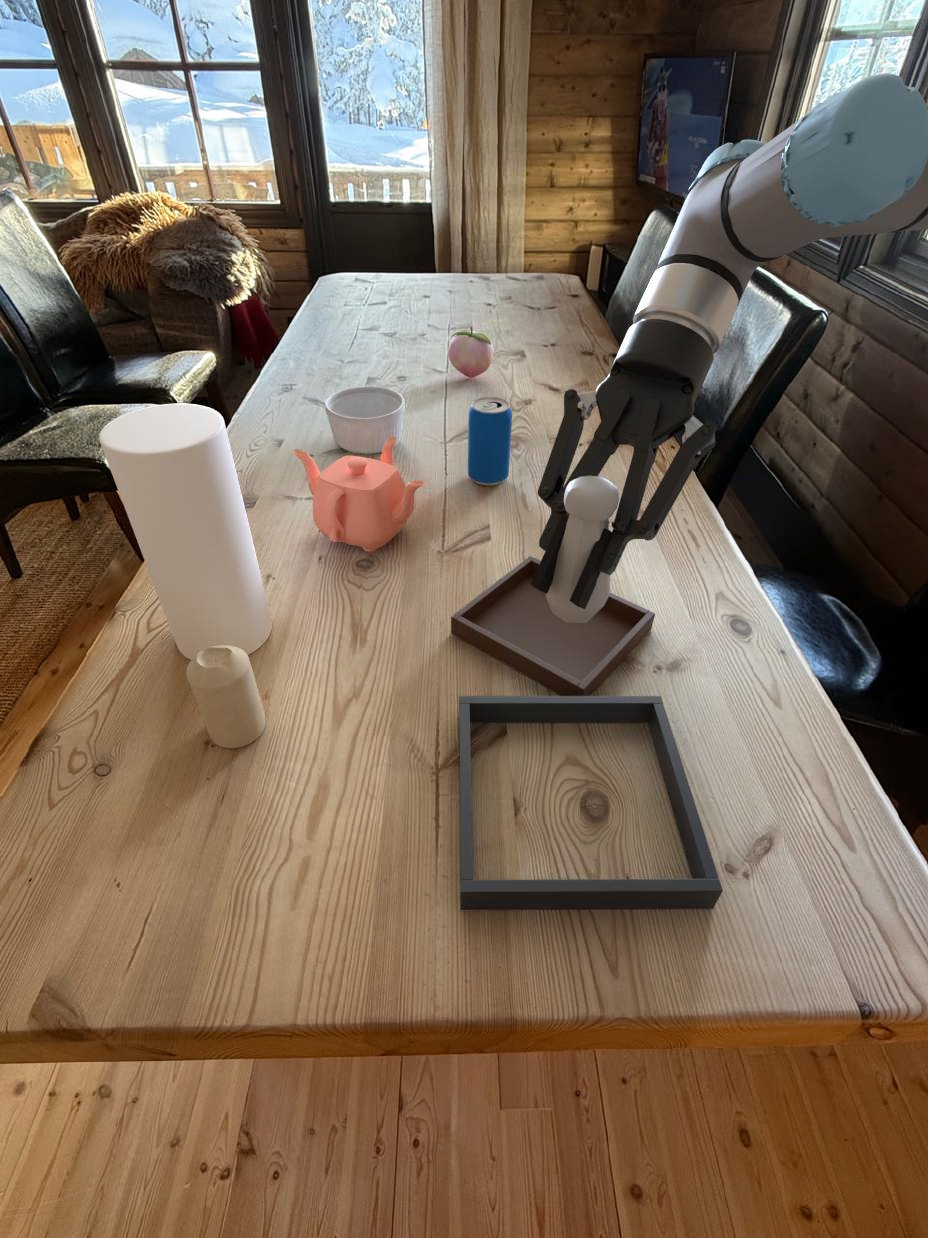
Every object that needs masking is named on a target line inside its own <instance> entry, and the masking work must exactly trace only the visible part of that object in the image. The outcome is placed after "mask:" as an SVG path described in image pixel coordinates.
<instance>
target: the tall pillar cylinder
mask: <svg viewBox="0 0 928 1238" xmlns="http://www.w3.org/2000/svg"><path fill="white" fill-rule="evenodd" d="M98 438H99V443H100V446H101V449H102V451H103V453H104V457H105V459H106V461H107V465H108V467H109V469H110V473H111V475H112V477H113V480H114V483H115V485H116V488H117V490H118V493H119V496H120V499H121V503H122V505H123V507H124V510H125V512H126V515H127V518H128V520H129V523H130V526H131V528H132V530H133V533H134V537H135V538H136V540H137V544H138V546H139V549H140V552H141V555H142V557H143V559H144V562H145V565H146V568H147V571H148V573H149V576H150V578H151V582H152V585H153V587H154V589H155V591H156V594H157V597H158V600H159V602H160V605H161V607H162V610H163V613H164V616H165V618H166V621H167V624H168V626H169V629H170V632H171V635H172V637H173V639H174V642H175V645H176V648H177V649H178V651H179V653H180V654H181V655H182V656H183V657H185V658H186V659H187V660H190V661H191V660H192V659H193V658H194V657H195V656H196V655H197V654H198V652H199V651H202V650H204V649H206V648H210V647H213V646H219V645H228V646H234V647H237V648H240V649H242V650H243V651H244V652H245V653H246V654H247V655H248V656H250V655H251V654H252V653H254V652H256V651H257V650H258V649H259V648H261V647H262V646H263V645H264V644H265V643H266V642H267V640H268V639H269V638H270V635H271V633H272V630H273V620H272V617H271V612H270V607H269V603H268V599H267V595H266V591H265V587H264V582H263V578H262V573H261V570H260V565H259V562H258V556H257V552H256V549H255V545H254V540H253V536H252V532H251V527H250V523H249V519H248V515H247V512H246V506H245V502H244V498H243V494H242V491H241V486H240V482H239V477H238V473H237V469H236V465H235V461H234V456H233V453H232V447H231V443H230V440H229V435H228V431H227V426H226V423H225V419H224V417H223V416H222V414H221V413H220V412H219V411H217V410H215V409H214V408H211V407H208V406H205V405H201V404H194V403H165V404H164V403H163V404H158V405H152V406H146V407H141V408H138V409H134V410H132V411H129V412H126V413H123V414H121V415H119V416H117V417H115V418H113V419H112V420H111V421H109V422H108V423H106V425H105V426H104V427H103V428H102V429H101V430H100V432H99V437H98Z"/></svg>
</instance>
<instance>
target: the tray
mask: <svg viewBox="0 0 928 1238" xmlns="http://www.w3.org/2000/svg"><path fill="white" fill-rule="evenodd" d="M540 562H541V559H538V558H536V557H534V556H531V555H529V556H528V557H526V558H525V559H524V560H523V561H522V560H521V562H520V563H518V564H517V565H516V566H515V567H513V568H512V569H511V570H509V571H508V572H507V573H506V574H504V575H503V576H502V577H500V578H499V579H498V580H497V581H495V582H494V583H492V584H491V585H489V587H487V588H486V589H484V590H483V591H482V592H481V593H479V594H478V595H477V596H476V597H475V598H473V599H472V600H470V601H469V602H468V603H467V604H465V605H464V606H462V607H461V608H460V609H459V610H458V611H456V612H455V613H454V614H452V615H451V616H450V634H451V635H453V636H455V637H457V638H458V639H459V640H462V641H463V642H465V643H467V644H469V645H470V646H473V647H474V648H476V649H478V650H479V651H481V652H483V653H485V654H487V655H488V656H490V657H491V658H493V659H495V660H497V661H498V662H501V663H502V664H504V665H506V666H507V667H509V668H511V669H513V670H515V671H517V672H518V673H520V674H522V676H523V675H524V676H525V677H527V678H529V679H531V680H532V681H534V682H536V683H537V684H539V685H541V686H542V687H545V688H546V689H548V690H550V691H552V692H554V693H556V694H557V695H558V696H593V694H594V693H595V692H596V691H597V690H598V689H599V687H601V685H603V683H604V682H605V681H606V680H607V679H608V678H609V677H610V676H611V675H612V674H613V672H614V671H616V669H617V668H618V667H619V666H620V665H621V664H622V663H623V661H624V660H626V658H627V657H628V656H629V655H630V654H631V653H632V652H633V651H634V650H635V648H636V647H637V646H638V645H639V644H640V643H641V642H642V641H643V640H644V638H645V637H646V636H647V635H649V633H650V632H651V631H652V628H653V624H654V621H655V616H656V613H655V612H654V611H651V610H649V609H647V608H645V607H643V606H641V605H638V604H636V603H635V602H632V601H630V600H628V599H626V598H623V597H621V596H619V595H617V594H615V593H612V592H610V595H609V597H608V599H607V601H606V603H605V605H604V606H603V607H602V608H601V609H600V610H599V611H598V612H597V613H596V614H595V615H594V616H593V617H592V618H591V619H590V620H589V621H588V622H587V623H566V622H565V621H563V620H562V619H560V618H559V617H558V616H556V615H555V614H554V613H552V611H551V608H550V606H549V603H548V601H547V598H546V593H544V592H541V591H539V590H538V589H536V588H535V587H533V586H532V585H531V582H532V580H533V578H534V576H535V573H536V571H537V569H538V567H539V564H540Z"/></svg>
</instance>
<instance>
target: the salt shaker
mask: <svg viewBox="0 0 928 1238" xmlns="http://www.w3.org/2000/svg"><path fill="white" fill-rule="evenodd" d="M619 502H620V493H619V489H618V488H617V486H616V485H615V484H614V483H612V482H611V481H610V480H609V479H607V478H605V477H601V476H598V477H597V476H582V477H579V478H576V479H574V480H572V481H571V482H570V483H569V484H568V486H567V487H566V490H565V493H564V505H565V509H566V511H567V512H568V513H569V514H570V515H569V518H568V521H567V525H566V528H565V532H564V536H563V539H562V543H561V546H560V549H559V553H558V557H557V562H556V567H555V572H554V577H553V581H552V584H551V586H550V589H549V591H548V593H547V594H546V598H547V601H548V603H549V606H550V608H551V611H552V613H554V614H555V615H556V616H558V617H559V618H560V619H562V620H563V621H565V622H566V623H587V622H588V621H589V620H590V619H591V618H592V617H593V616H594V615H595V614H596V613H597V612H598V611H599V610H600V609H601V608H602V607H603V606H604V605H605V603H606V601H607V599H608V597H609V595H610V593H611V575H608V574H605V573H602V572H600V575H599V578H598V579H597V583H596V586H595V588H594V590H593V593H592V595H591V597H590V599H589V602H588V604H587V606H586V608H585V609H583V608H580V607H578V606H576V605H575V604H573V603H572V602H571V601H569V600H570V598H571V596H572V594H573V591H574V589H575V587H576V585H577V582H578V580H579V578H580V576H581V573H582V571H583V569H584V567H585V565H586V562H587V560H588V558H589V556H590V553H591V551H592V549H593V547H594V544H595V542H597V541H598V540H599V539H600V536H601V534H602V531H603V529H607V530H610V527H609V519H610V518H612V517H613V515H614V514H615V512H616V511H617V510H618V506H619Z"/></svg>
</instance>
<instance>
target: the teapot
mask: <svg viewBox="0 0 928 1238" xmlns="http://www.w3.org/2000/svg"><path fill="white" fill-rule="evenodd" d="M395 443H396V437H391V438H390V439H388V440H387V442H386V443H385V445H384V448H383V451H382V452H381V455H380V458H379V460H378V459H374V458H372V457H371V458H370V457H365V456H359V455H343V456H341V457H340V458H339V459H338V458H337V460H334V462H332V463H331V464H330V465H329V466H327V467H326V468H325V469H323V471H321V472H320V470H319V468H318V466H317V464H316V462H315V460H314V458H312V457H311V455H310V454H309V453H307V452H305V451H303V450H301V449H300V450H299V449H293V451H292V452H293V454H294V455H295V456H296V457H297V458H298V459H299V460H300V461H301V463H302V464H303V467H304V469H305V473H306V479H307V484H308V488H309V491H310V493H311V495H312V496H313V497H312V518H313V522H314V525H315V526H316V527H317V529H318V531H320V533H322V535H325V536H326V537H329V538H328V539H329V540H330V541H331V542H333V543H340V542H341V543H342V544H343V543H344V544H347V545H351V546H354V547H355V546H356V547H362V550H363V551H365V552H375V551H377V550H378V549H379V548H381V547H383V546H385V545H386V544H387V543H389V542H390V541H391V540H392V539H393V538H394V537H396V536H397V534H398V533H399V532H400V531H401V530H402V529H403V528H404V526H405V525H406V524H407V523H408V520H409V519H410V517H411V515H412V513H413V512H414V508H415V495H416V491H417V490H418V488H420V487H422V486H424V485H426V482H425V481H423V480H413V481H410V482H408V483H407V484H405V481H404V479H403V477H402V475H401V473H400V471H399V469H398V467H396V466H395V464H394V463H395V462H394V449H395V446H396V445H395ZM394 445H395V446H394Z"/></svg>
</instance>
